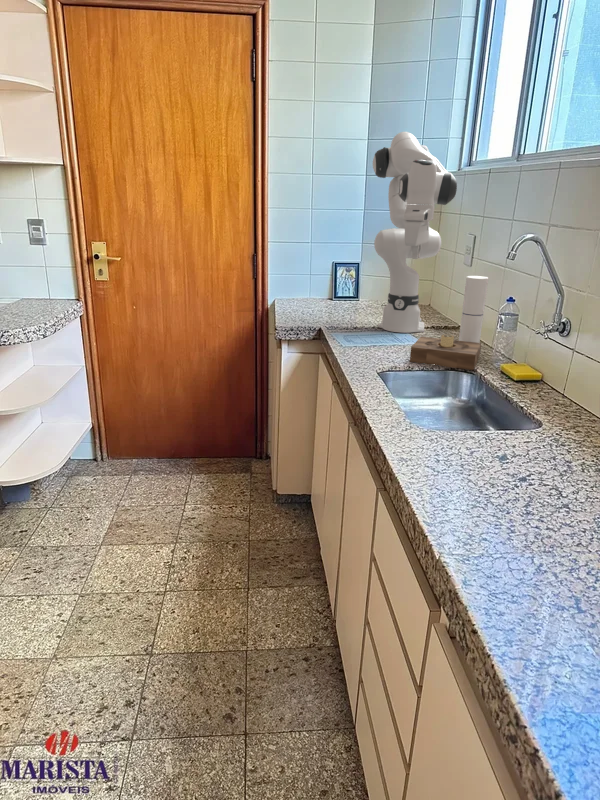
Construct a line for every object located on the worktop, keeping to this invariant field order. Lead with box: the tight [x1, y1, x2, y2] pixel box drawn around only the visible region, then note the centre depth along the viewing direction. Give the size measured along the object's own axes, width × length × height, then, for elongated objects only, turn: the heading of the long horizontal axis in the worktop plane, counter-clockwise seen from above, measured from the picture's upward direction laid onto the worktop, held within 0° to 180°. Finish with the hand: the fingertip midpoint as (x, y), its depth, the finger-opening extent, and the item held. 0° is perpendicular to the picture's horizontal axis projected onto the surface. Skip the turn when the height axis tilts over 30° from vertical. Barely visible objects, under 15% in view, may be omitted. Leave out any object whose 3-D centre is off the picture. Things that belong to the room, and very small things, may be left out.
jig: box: [409, 336, 482, 371], centre depth 181 cm, size 16×20×5 cm
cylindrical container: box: [458, 275, 489, 343], centre depth 192 cm, size 7×7×25 cm
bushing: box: [440, 334, 455, 347], centre depth 180 cm, size 4×4×8 cm
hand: (415, 258), depth 181 cm, fingers closed
